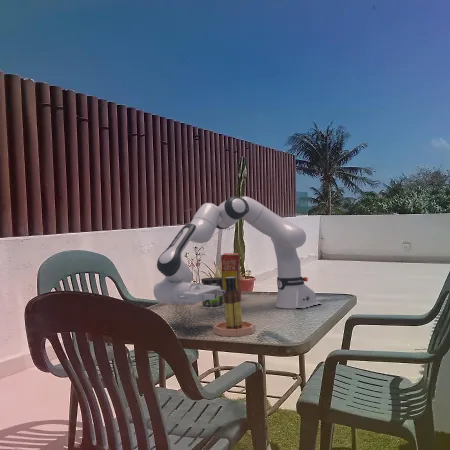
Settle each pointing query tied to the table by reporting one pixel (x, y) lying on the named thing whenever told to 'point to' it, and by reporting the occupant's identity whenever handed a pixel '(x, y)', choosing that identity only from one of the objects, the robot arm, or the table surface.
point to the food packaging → (230, 270)
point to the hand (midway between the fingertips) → (220, 295)
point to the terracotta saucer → (245, 330)
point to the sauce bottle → (232, 305)
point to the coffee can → (218, 301)
